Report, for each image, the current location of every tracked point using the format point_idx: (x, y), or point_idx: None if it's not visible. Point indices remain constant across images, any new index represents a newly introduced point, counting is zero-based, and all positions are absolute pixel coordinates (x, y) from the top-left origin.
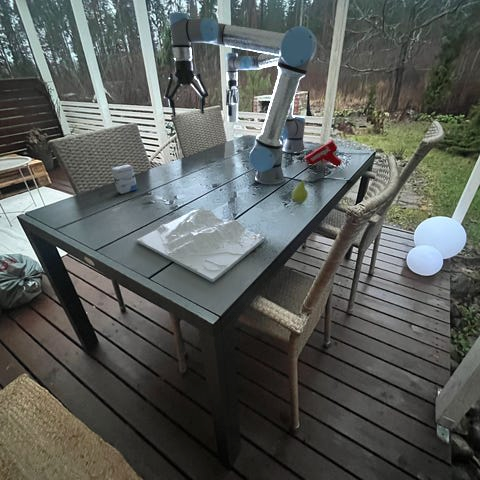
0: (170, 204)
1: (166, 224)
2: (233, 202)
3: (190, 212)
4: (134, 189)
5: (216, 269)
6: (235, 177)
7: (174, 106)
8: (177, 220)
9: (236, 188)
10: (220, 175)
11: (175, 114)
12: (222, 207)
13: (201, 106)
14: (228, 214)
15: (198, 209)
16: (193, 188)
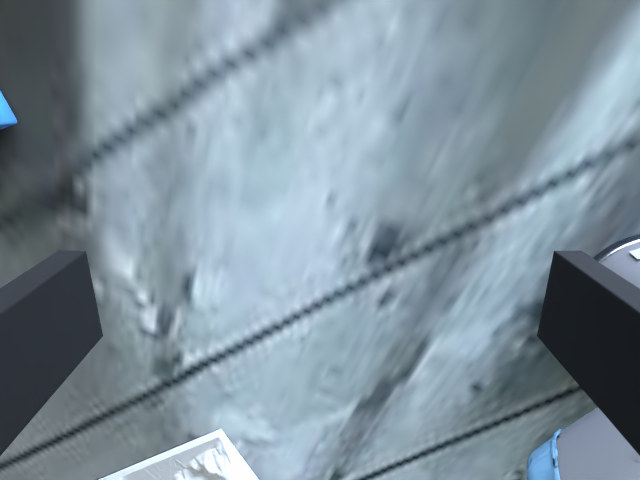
0: (158, 336)
1: (125, 477)
2: (374, 411)
3: (207, 444)
4: (2, 128)
5: None
6: (529, 187)
7: (11, 439)
8: (159, 469)
9: (452, 311)
10: (478, 118)
11: (90, 348)
12: (323, 426)
13: (607, 388)
14: (320, 468)
15: (225, 477)
16: (282, 230)
